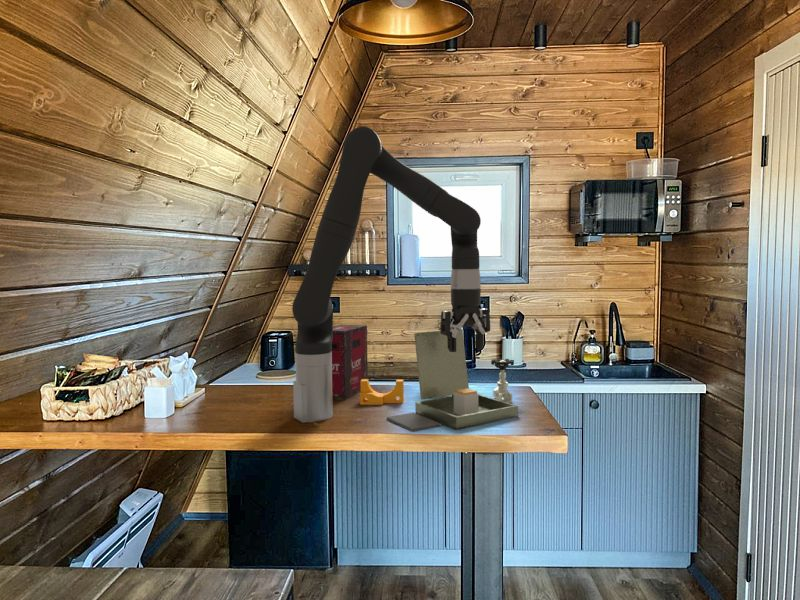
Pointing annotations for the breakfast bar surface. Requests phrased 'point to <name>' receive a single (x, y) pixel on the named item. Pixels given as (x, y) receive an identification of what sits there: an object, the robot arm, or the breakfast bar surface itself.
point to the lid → (440, 364)
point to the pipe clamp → (381, 394)
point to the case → (487, 413)
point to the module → (465, 401)
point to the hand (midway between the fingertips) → (466, 350)
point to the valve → (502, 381)
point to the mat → (413, 421)
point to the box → (348, 360)
